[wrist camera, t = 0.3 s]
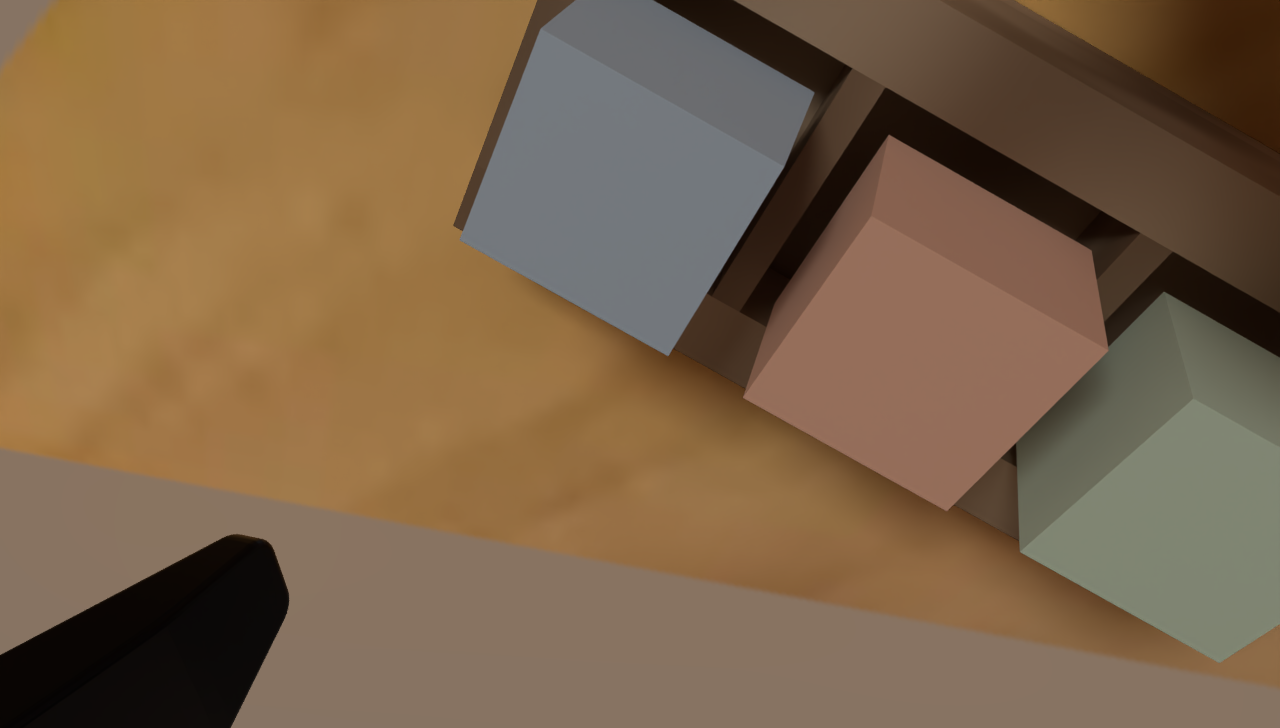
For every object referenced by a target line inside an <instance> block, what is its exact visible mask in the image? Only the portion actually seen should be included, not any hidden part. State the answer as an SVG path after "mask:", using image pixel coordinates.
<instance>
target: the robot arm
mask: <svg viewBox="0 0 1280 728" xmlns="http://www.w3.org/2000/svg"><path fill="white" fill-rule="evenodd" d="M288 606H289V593H288V589H287V586H286V583H285V580H284V577H283V575H282V572H281V569H280V566H279V563H278V560H277V558H276V555H275V552H274V549H273V547H272V546H271V544H270V543H269V542H267V541H266V540H264V539H259V538H255V537H250V536H245V535H239V534H233V535H229V536H226V537H224V538H222V539H220V540H218V541H216V542H214V543H212V544H210V545H208V546H206V547H204V548H203V549H201V550H199V551H197V552H195V553H193V554H191V555H189V556H187V557H185V558H184V559H182V560H180V561H178V562H176V563H174V564H172V565H170V566H169V567H167V568H165V569H163V570H161V571H159V572H157V573H155V574H153V575H151V576H150V577H148V578H146V579H144V580H142V581H140V582H138V583H136V584H134V585H132V586H130V587H129V588H127V589H125V590H123V591H121V592H119V593H117V594H115V595H113V596H111V597H110V598H108V599H106V600H104V601H102V602H100V603H98V604H96V605H94V606H92V607H91V608H89V609H87V610H85V611H83V612H81V613H79V614H77V615H76V616H73V617H72V618H70V619H68V620H66V621H64V622H62V623H60V624H58V625H56V626H54V627H53V628H51V629H49V630H47V631H45V632H43V633H41V634H39V635H37V636H35V637H34V638H32V639H30V640H28V641H26V642H24V643H22V644H20V645H18V646H16V647H15V648H13V649H11V650H9V651H7V652H5V653H3V654H1V655H0V728H231V726H232V724H233V722H234V720H235V718H236V716H237V714H238V712H239V710H240V708H241V706H242V704H243V702H244V700H245V698H246V696H247V694H248V692H249V690H250V688H251V685H252V684H253V681H254V680H255V678H256V676H257V673H258V672H259V670H260V667H261V665H262V663H263V661H264V659H265V657H266V655H267V653H268V651H269V649H270V647H271V645H272V643H273V641H274V639H275V637H276V635H277V633H278V631H279V629H280V627H281V625H282V623H283V621H284V619H285V616H286V614H287V610H288Z"/></svg>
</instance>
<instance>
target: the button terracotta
mask: <svg viewBox="0 0 1280 728" xmlns="http://www.w3.org/2000/svg"><path fill="white" fill-rule="evenodd" d="M1108 351H1109V349H1108V344H1107V338H1106V332H1105V326H1104V320H1103V314H1102V309H1101V303H1100V297H1099V291H1098V285H1097V280H1096V274H1095V268H1094V262H1093V256H1092V250H1090V249H1088V248H1087V247H1085V246H1083V245H1081V244H1080V243H1078V242H1076V241H1074V240H1073V239H1071V238H1069V237H1067V236H1066V235H1064V234H1062V233H1060V232H1059V231H1057V230H1055V229H1053V228H1052V227H1050V226H1048V225H1046V224H1044V223H1043V222H1041V221H1039V220H1037V219H1036V218H1034V217H1032V216H1030V215H1029V214H1027V213H1025V212H1023V211H1022V210H1020V209H1018V208H1016V207H1015V206H1013V205H1011V204H1009V203H1008V202H1006V201H1004V200H1002V199H1001V198H999V197H997V196H995V195H994V194H992V193H990V192H988V191H987V190H985V189H983V188H981V187H980V186H978V185H976V184H974V183H973V182H971V181H969V180H967V179H966V178H964V177H962V176H960V175H959V174H957V173H955V172H953V171H952V170H950V169H948V168H946V167H945V166H943V165H941V164H939V163H938V162H936V161H934V160H932V159H931V158H929V157H927V156H925V155H924V154H922V153H920V152H918V151H917V150H915V149H913V148H911V147H910V146H908V145H906V144H904V143H902V142H901V141H899V140H897V139H895V138H894V137H892V136H890V135H888V137H887V138H886V140H885V141H884V143H883V144H882V146H881V147H880V148H879V150H878V151H877V153H876V154H875V156H874V157H873V159H872V160H871V162H870V163H869V165H868V166H867V168H866V169H865V171H864V172H863V174H862V175H861V177H860V178H859V180H858V181H857V182H856V184H855V185H854V187H853V188H852V190H851V191H850V193H849V194H848V196H847V197H846V199H845V200H844V202H843V203H842V205H841V206H840V208H839V209H838V211H837V212H836V213H835V215H834V216H833V218H832V219H831V221H830V222H829V224H828V225H827V227H826V228H825V230H824V231H823V233H822V234H821V236H820V237H819V239H818V240H817V242H816V243H815V244H814V246H813V247H812V249H811V250H810V252H809V253H808V255H807V256H806V258H805V259H804V261H803V262H802V264H801V265H800V267H799V268H798V270H797V271H796V273H795V274H794V276H793V277H792V278H791V280H790V281H789V283H788V284H787V286H786V287H785V289H784V290H783V292H782V293H781V295H780V296H779V298H778V299H777V301H776V302H775V304H774V307H773V310H772V313H771V315H770V318H769V321H768V324H767V327H766V330H765V333H764V336H763V339H762V342H761V345H760V348H759V351H758V354H757V357H756V360H755V363H754V366H753V369H752V372H751V375H750V378H749V381H748V384H747V387H746V390H745V393H744V396H743V398H744V399H746V400H748V401H749V402H751V403H753V404H755V405H757V406H758V407H760V408H762V409H764V410H766V411H767V412H769V413H771V414H773V415H775V416H776V417H778V418H780V419H782V420H784V421H785V422H787V423H789V424H791V425H793V426H794V427H796V428H798V429H800V430H802V431H803V432H805V433H807V434H809V435H811V436H812V437H814V438H816V439H818V440H820V441H821V442H823V443H825V444H827V445H828V446H830V447H832V448H834V449H836V450H837V451H839V452H841V453H843V454H845V455H846V456H848V457H850V458H852V459H854V460H855V461H857V462H859V463H861V464H863V465H864V466H866V467H868V468H870V469H872V470H873V471H875V472H877V473H879V474H881V475H882V476H884V477H886V478H888V479H890V480H891V481H893V482H895V483H897V484H899V485H900V486H902V487H904V488H906V489H908V490H909V491H911V492H913V493H915V494H917V495H918V496H920V497H922V498H924V499H925V500H927V501H929V502H931V503H933V504H934V505H936V506H938V507H940V508H942V509H943V510H945V511H948V510H949V509H950V508H951V507H952V506H953V505H954V504H955V503H956V502H957V501H958V500H959V499H960V498H961V497H962V496H963V495H964V494H965V493H966V492H967V491H968V490H969V489H970V488H971V487H972V486H973V485H974V484H975V483H976V482H977V481H978V480H979V479H980V478H981V477H982V476H983V475H984V474H985V473H986V472H987V471H988V470H989V469H990V468H991V467H992V466H993V465H994V464H995V463H996V462H997V461H998V460H999V459H1000V458H1001V457H1002V456H1003V455H1004V454H1005V453H1006V452H1007V451H1008V450H1009V449H1010V448H1011V447H1012V446H1013V445H1014V444H1015V443H1016V442H1017V441H1018V440H1019V439H1020V438H1021V437H1022V436H1023V435H1024V434H1025V433H1026V432H1027V431H1028V430H1029V429H1030V428H1031V427H1032V426H1033V425H1034V424H1035V423H1036V422H1037V421H1038V420H1039V419H1040V418H1041V417H1042V416H1043V415H1044V414H1045V413H1046V412H1047V411H1048V410H1049V409H1050V408H1051V407H1052V406H1053V405H1054V404H1055V403H1056V402H1057V401H1058V400H1059V399H1060V398H1061V397H1062V396H1063V395H1064V394H1065V393H1066V392H1068V391H1069V390H1070V389H1071V388H1072V387H1073V386H1074V385H1075V384H1076V383H1077V382H1078V381H1079V380H1080V379H1081V378H1082V377H1083V376H1084V375H1085V374H1086V373H1087V372H1088V371H1089V370H1090V369H1091V368H1092V367H1093V366H1094V365H1095V364H1096V363H1097V362H1098V361H1099V360H1100V359H1101V358H1102V357H1103V356H1104V355H1105V354H1106V353H1107V352H1108Z"/></svg>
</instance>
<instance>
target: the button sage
mask: <svg viewBox="0 0 1280 728" xmlns="http://www.w3.org/2000/svg"><path fill="white" fill-rule="evenodd" d="M1108 349H1109V351H1108V352H1107V353H1106V354H1105V355H1104V356H1103V357H1102V358H1101V359H1100V360H1099V361H1098V362H1097V363H1096V364H1095V365H1094V366H1093V367H1092V368H1091V369H1090V370H1089V371H1088V372H1087V373H1086V374H1085V375H1084V376H1083V377H1082V378H1081V379H1080V380H1079V381H1078V382H1077V383H1076V384H1075V385H1074V386H1073V387H1072V388H1071V389H1070V390H1069V391H1068V392H1066V393H1065V394H1064V395H1063V396H1062V397H1061V398H1060V399H1059V400H1058V401H1057V402H1056V403H1055V404H1054V405H1053V406H1052V407H1051V408H1050V409H1049V410H1048V411H1047V412H1046V413H1045V414H1044V415H1043V416H1042V417H1041V418H1040V419H1039V420H1038V421H1037V422H1036V423H1035V424H1034V425H1033V426H1032V427H1031V428H1030V429H1029V430H1028V431H1027V432H1026V433H1025V434H1024V435H1023V436H1022V437H1021V438H1020V439H1019V440H1018V441H1017V442H1016V452H1017V482H1018V513H1019V543H1020V552H1021V553H1022V554H1024V555H1026V556H1028V557H1030V558H1031V559H1033V560H1035V561H1037V562H1039V563H1040V564H1042V565H1044V566H1046V567H1048V568H1049V569H1051V570H1053V571H1055V572H1057V573H1058V574H1060V575H1062V576H1064V577H1066V578H1067V579H1069V580H1071V581H1073V582H1075V583H1076V584H1078V585H1080V586H1082V587H1084V588H1085V589H1087V590H1089V591H1091V592H1093V593H1094V594H1096V595H1098V596H1100V597H1102V598H1103V599H1105V600H1107V601H1109V602H1111V603H1112V604H1114V605H1116V606H1118V607H1119V608H1121V609H1123V610H1125V611H1127V612H1128V613H1130V614H1132V615H1134V616H1136V617H1137V618H1139V619H1141V620H1143V621H1145V622H1146V623H1148V624H1150V625H1152V626H1154V627H1155V628H1157V629H1159V630H1161V631H1163V632H1164V633H1166V634H1168V635H1170V636H1172V637H1173V638H1175V639H1177V640H1179V641H1181V642H1182V643H1184V644H1186V645H1188V646H1190V647H1191V648H1193V649H1195V650H1197V651H1199V652H1200V653H1202V654H1204V655H1206V656H1208V657H1209V658H1211V659H1213V660H1215V661H1216V662H1218V663H1220V662H1222V661H1223V660H1225V659H1226V658H1228V657H1230V656H1231V655H1233V654H1234V653H1236V652H1237V651H1239V650H1240V649H1242V648H1243V647H1245V646H1246V645H1248V644H1250V643H1251V642H1253V641H1254V640H1256V639H1257V638H1259V637H1260V636H1262V635H1263V634H1265V633H1267V632H1268V631H1270V630H1271V629H1273V628H1274V627H1276V626H1277V625H1279V624H1280V358H1279V357H1278V356H1276V355H1274V354H1272V353H1271V352H1269V351H1267V350H1265V349H1264V348H1262V347H1260V346H1258V345H1257V344H1255V343H1253V342H1251V341H1250V340H1248V339H1246V338H1244V337H1243V336H1241V335H1239V334H1237V333H1236V332H1234V331H1232V330H1230V329H1229V328H1227V327H1225V326H1223V325H1222V324H1220V323H1218V322H1216V321H1215V320H1213V319H1211V318H1209V317H1208V316H1206V315H1204V314H1202V313H1201V312H1199V311H1197V310H1195V309H1193V308H1192V307H1190V306H1188V305H1186V304H1185V303H1183V302H1181V301H1179V300H1178V299H1176V298H1174V297H1172V296H1171V295H1169V294H1167V293H1165V292H1163V293H1162V294H1161V295H1160V296H1159V297H1158V298H1157V299H1156V300H1155V301H1154V302H1153V303H1152V304H1151V305H1150V306H1149V307H1148V308H1147V309H1146V310H1145V311H1144V312H1143V313H1142V314H1141V315H1140V316H1139V317H1138V318H1137V319H1136V320H1135V321H1134V322H1133V323H1132V324H1131V325H1130V326H1129V327H1128V328H1127V329H1126V330H1125V331H1124V332H1123V333H1122V334H1121V335H1120V336H1119V337H1118V338H1117V339H1116V340H1115V341H1114V342H1113V343H1112V344H1111V345H1110V346H1109V347H1108Z"/></svg>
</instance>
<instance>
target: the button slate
mask: <svg viewBox="0 0 1280 728" xmlns="http://www.w3.org/2000/svg"><path fill="white" fill-rule="evenodd" d="M814 93H815V92H813V91H811V90H810V89H808V88H806V87H804V86H803V85H801V84H799V83H797V82H796V81H794V80H792V79H790V78H789V77H787V76H785V75H783V74H782V73H780V72H778V71H776V70H775V69H773V68H771V67H769V66H768V65H766V64H764V63H762V62H760V61H759V60H757V59H755V58H753V57H752V56H750V55H748V54H746V53H745V52H743V51H741V50H739V49H738V48H736V47H734V46H732V45H731V44H729V43H727V42H725V41H724V40H722V39H720V38H718V37H717V36H715V35H713V34H711V33H710V32H708V31H706V30H704V29H703V28H701V27H699V26H697V25H696V24H694V23H692V22H690V21H689V20H687V19H685V18H683V17H682V16H680V15H678V14H676V13H675V12H673V11H671V10H669V9H668V8H666V7H664V6H662V5H661V4H659V3H657V2H655V1H654V0H575V1H574V2H573V3H572V4H570V5H569V6H568V7H567V8H565V9H564V10H563V11H562V12H560V13H559V14H558V15H557V16H556V17H554V18H553V19H552V20H551V21H549V22H548V23H547V24H546V25H544V26H543V27H542V28H541V29H540V32H539V34H538V37H537V39H536V42H535V45H534V47H533V50H532V52H531V55H530V58H529V60H528V63H527V66H526V68H525V71H524V73H523V76H522V79H521V81H520V84H519V86H518V89H517V92H516V94H515V97H514V99H513V102H512V105H511V107H510V110H509V112H508V115H507V118H506V120H505V123H504V125H503V128H502V131H501V133H500V136H499V139H498V141H497V144H496V146H495V149H494V152H493V154H492V157H491V159H490V162H489V165H488V167H487V170H486V172H485V175H484V178H483V180H482V183H481V185H480V188H479V191H478V193H477V196H476V198H475V201H474V204H473V206H472V209H471V212H470V214H469V217H468V219H467V222H466V225H465V227H464V230H463V232H462V235H461V238H460V241H462V242H464V243H466V244H467V245H469V246H471V247H473V248H475V249H476V250H478V251H480V252H482V253H484V254H485V255H487V256H489V257H491V258H493V259H494V260H496V261H498V262H500V263H502V264H503V265H505V266H507V267H509V268H511V269H512V270H514V271H516V272H518V273H520V274H521V275H523V276H525V277H527V278H528V279H530V280H532V281H534V282H536V283H537V284H539V285H541V286H543V287H545V288H546V289H548V290H550V291H552V292H554V293H555V294H557V295H559V296H561V297H563V298H564V299H566V300H568V301H570V302H572V303H573V304H575V305H577V306H579V307H581V308H582V309H584V310H586V311H588V312H590V313H591V314H593V315H595V316H597V317H599V318H600V319H602V320H604V321H606V322H608V323H609V324H611V325H613V326H615V327H617V328H618V329H620V330H622V331H624V332H625V333H627V334H629V335H631V336H633V337H634V338H636V339H638V340H640V341H642V342H643V343H645V344H647V345H649V346H651V347H652V348H654V349H656V350H658V351H660V352H661V353H663V354H665V355H667V356H669V354H670V352H671V351H672V349H673V347H674V346H675V344H676V343H677V341H678V339H679V338H680V336H681V334H682V333H683V331H684V330H685V328H686V326H687V325H688V323H689V321H690V320H691V318H692V316H693V315H694V313H695V312H696V310H697V308H698V307H699V305H700V303H701V302H702V300H703V299H704V297H705V295H706V294H707V292H708V290H709V289H710V287H711V285H712V284H713V282H714V281H715V279H716V277H717V276H718V274H719V272H720V271H721V269H722V268H723V266H724V264H725V263H726V261H727V259H728V258H729V256H730V254H731V253H732V251H733V250H734V248H735V246H736V245H737V243H738V241H739V240H740V238H741V237H742V235H743V233H744V232H745V230H746V228H747V227H748V225H749V224H750V222H751V220H752V219H753V217H754V215H755V214H756V212H757V210H758V209H759V207H760V206H761V204H762V202H763V201H764V199H765V197H766V196H767V194H768V193H769V191H770V189H771V188H772V186H773V184H774V183H775V181H776V179H777V178H778V176H779V175H780V173H781V171H782V170H783V168H784V166H785V164H786V161H787V159H788V156H789V154H790V152H791V149H792V147H793V144H794V142H795V139H796V137H797V134H798V132H799V130H800V127H801V125H802V122H803V120H804V117H805V115H806V112H807V110H808V108H809V105H810V103H811V100H812V98H813V95H814Z"/></svg>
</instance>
